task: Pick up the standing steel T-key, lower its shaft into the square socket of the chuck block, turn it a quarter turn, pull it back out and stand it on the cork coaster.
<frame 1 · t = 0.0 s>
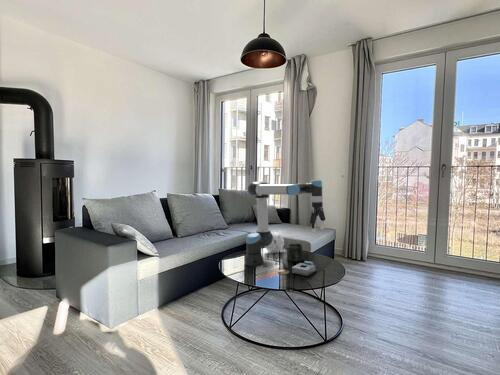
hand: (318, 231, 208), 28 cm above the table, fingers open, 13 cm apart
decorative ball: (274, 252, 259), on the table
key: (285, 267, 217), on the table
chuck block: (303, 271, 206), on the table
coaster: (283, 272, 207), on the table
mug: (293, 260, 235), on the table
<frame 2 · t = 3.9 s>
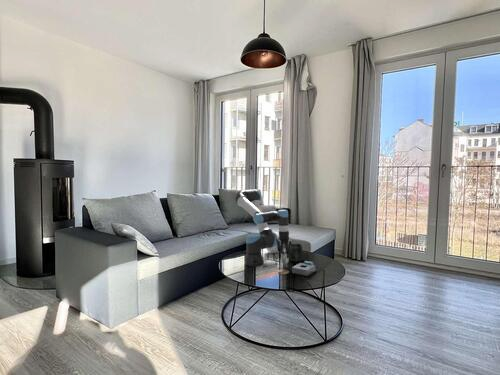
hand: (285, 261, 217), 5 cm above the table, fingers closed on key, 3 cm apart
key: (285, 267, 217), on the table, touching gripper
everything else where it was.
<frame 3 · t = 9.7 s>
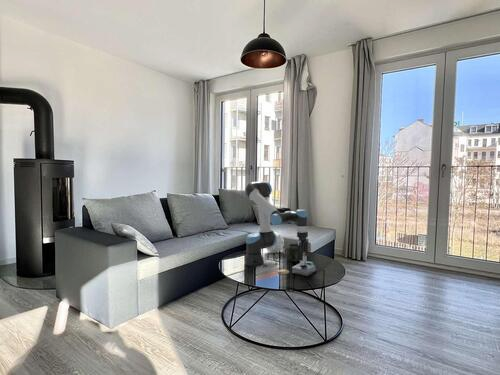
hand: (303, 264, 206), 6 cm above the table, fingers closed on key, 3 cm apart
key: (303, 270, 206), point 1 cm above the table, touching gripper
everything else where it was.
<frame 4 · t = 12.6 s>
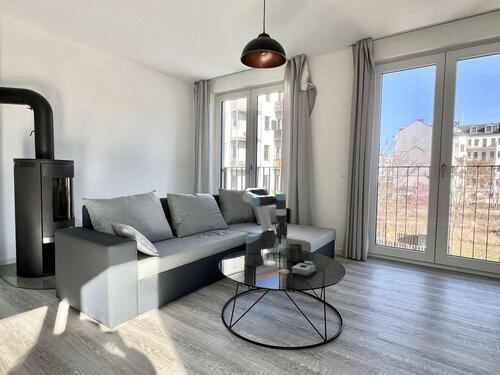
hand: (282, 247, 206), 18 cm above the table, fingers closed on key, 3 cm apart
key: (282, 253, 207), point 13 cm above the table, touching gripper
everything else where it was.
when the fingers open (6 cm above the table, at t = 15.5 s): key stays where it is, resting on coaster.
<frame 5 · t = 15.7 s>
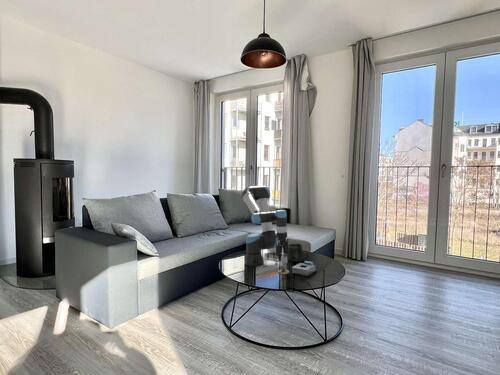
hand: (283, 263, 207), 6 cm above the table, fingers open, 6 cm apart
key: (283, 271, 207), point 1 cm above the table, touching coaster
everything else where it was.
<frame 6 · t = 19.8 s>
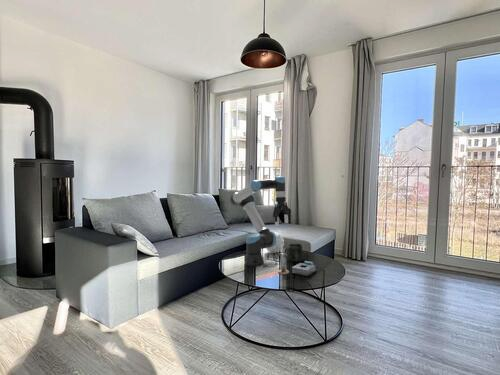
hand: (281, 224, 221), 32 cm above the table, fingers open, 13 cm apart
nothing on the table moved.
at the end: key 0.0 cm off-centre on the coaster, point 0.6 cm above the coaster's base; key tilted 0°; the gripper is holding nothing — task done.
